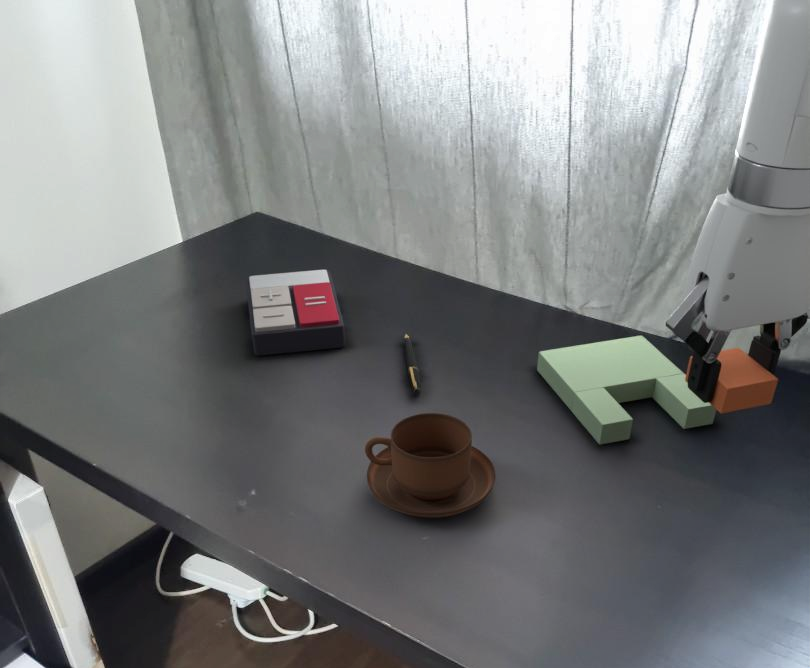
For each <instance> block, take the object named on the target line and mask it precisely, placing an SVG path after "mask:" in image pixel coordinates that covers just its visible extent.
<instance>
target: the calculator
mask: <svg viewBox="0 0 810 668" xmlns="http://www.w3.org/2000/svg"><path fill="white" fill-rule="evenodd" d="M245 284H246V293H247V303H248V305H247V306H248V314H249V324H250V333H251V339H252V340H251V341H252V346H253V353H254V355H255V356H256V357H261V356H271V355H280V354H290V353H300V352H301V353H302V352H311V351H321V350H329V349H330V350H331V349H340V348H344V347H345V346H346V333H345V323H344V319H343V315H342V312H341V307H340V304H339V300H338V297H337V293H336V288H335V286H334V281H333V278H332V275H331V272H330V270H327V269H314V270H313V269H312V270H304V271H303V270H302V271H292V272H291V271H290V272H280V273H279V272H278V273H268V274H259V275H250V276H249V277H247V278H246V279H245Z"/></svg>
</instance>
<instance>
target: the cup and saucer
mask: <svg viewBox="0 0 810 668" xmlns="http://www.w3.org/2000/svg"><path fill="white" fill-rule="evenodd" d="M472 442H473V433H472V430H471V428H470V426H469V425H468V424H467V423H466V422H464V421H463V420H461V419H460V418H457V417H455V416H452V415H450V414H445V413H437V412H426V413H425V412H424V413H418V414H413V415H410V416H408V417H405V418H403V419H402V420H400V421H398V422H397V423H396V424H395V425H394V426H393V427H392V429H391V431H390V438H388V437H382V436H376V437H372V438H371V439H369V440H367V442H366V444H365V447H364V452H365V456H366V457H367V459H368V460H369V461H370V462H369V464H368V466H367V471H366V481H367V484H368V487H369V490H370V491H371V493H372V495H373V496H374V497H375V498H376V499H377V500H378V501H379V502H380V503H382V504H383V505H385V506H386V507H388V508H390V509H392V510H394V511H396V512H398V513H401V514H404V515H407V516H411V517H417V518H425V519H427V518H429V519H433V518H434V519H437V518H445V517H451V516H456V515H459V514H461V513H465V512H466V511H469V510H471V509H473V508H475V507H477V506H478V505H479V504H481V503H483V501H485V499H486V498H487V497H489V495H490V493H491V492H492V490H493V487H494V485H495V482H496V469H495V465H494V464H493V462H492V461H491V459H490V458H489V457H488V456H487V455H486V454H485V453H484V452H483V451H481V450H480V449H478V448H477V447H475V446H473V445H472V444H473V443H472ZM376 445H383V446H386V447H385V448H384V449H382V450H381V451H379V452H378V453H377V454H376V455H375V454H374V452H373V448H374V447H375V446H376Z"/></svg>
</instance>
